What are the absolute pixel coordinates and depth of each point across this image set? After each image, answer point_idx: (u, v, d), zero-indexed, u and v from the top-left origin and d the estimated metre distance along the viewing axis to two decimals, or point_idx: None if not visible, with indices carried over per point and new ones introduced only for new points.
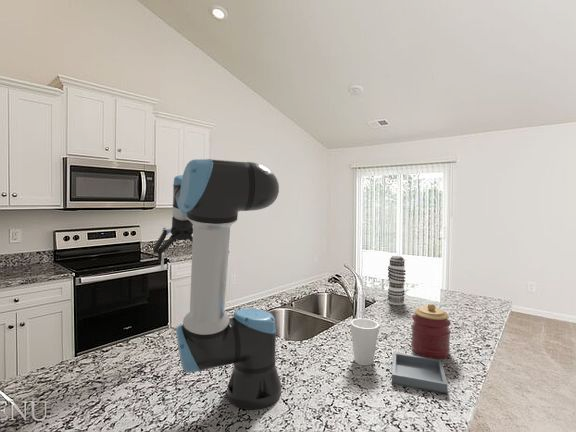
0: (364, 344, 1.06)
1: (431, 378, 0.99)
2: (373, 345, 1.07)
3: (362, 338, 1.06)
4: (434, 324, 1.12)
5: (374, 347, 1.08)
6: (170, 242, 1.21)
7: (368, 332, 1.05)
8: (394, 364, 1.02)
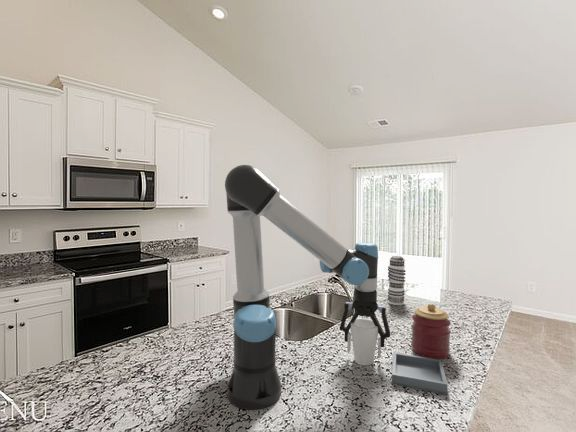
0: (364, 344, 1.06)
1: (431, 378, 0.99)
2: (373, 345, 1.07)
3: (362, 338, 1.06)
4: (434, 324, 1.12)
5: (374, 347, 1.08)
6: (354, 318, 1.10)
7: (368, 332, 1.05)
8: (394, 364, 1.02)
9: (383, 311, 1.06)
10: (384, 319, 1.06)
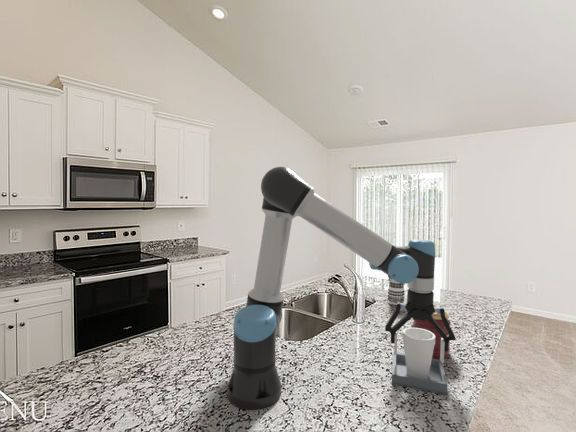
0: (420, 357, 0.97)
1: (431, 378, 0.99)
2: (430, 358, 0.97)
3: (418, 350, 0.97)
4: None
5: (430, 360, 0.98)
6: (405, 320, 1.00)
7: (425, 344, 0.96)
8: (394, 364, 1.02)
9: (442, 312, 0.97)
10: (445, 321, 0.97)
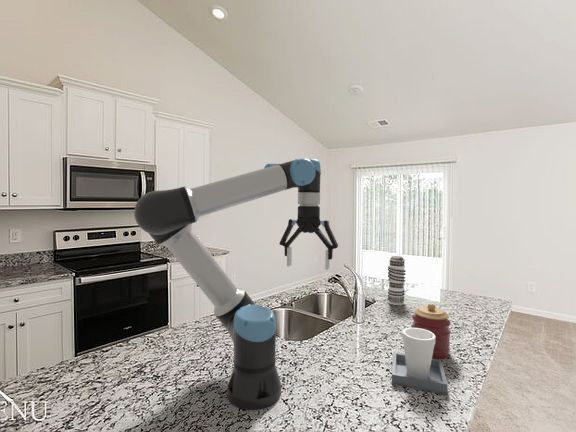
0: (420, 357, 0.97)
1: (431, 378, 0.99)
2: (430, 358, 0.97)
3: (418, 350, 0.97)
4: (434, 324, 1.12)
5: (430, 360, 0.98)
6: (295, 234, 1.10)
7: (425, 344, 0.96)
8: (394, 364, 1.02)
9: (325, 224, 1.07)
10: (328, 231, 1.06)
